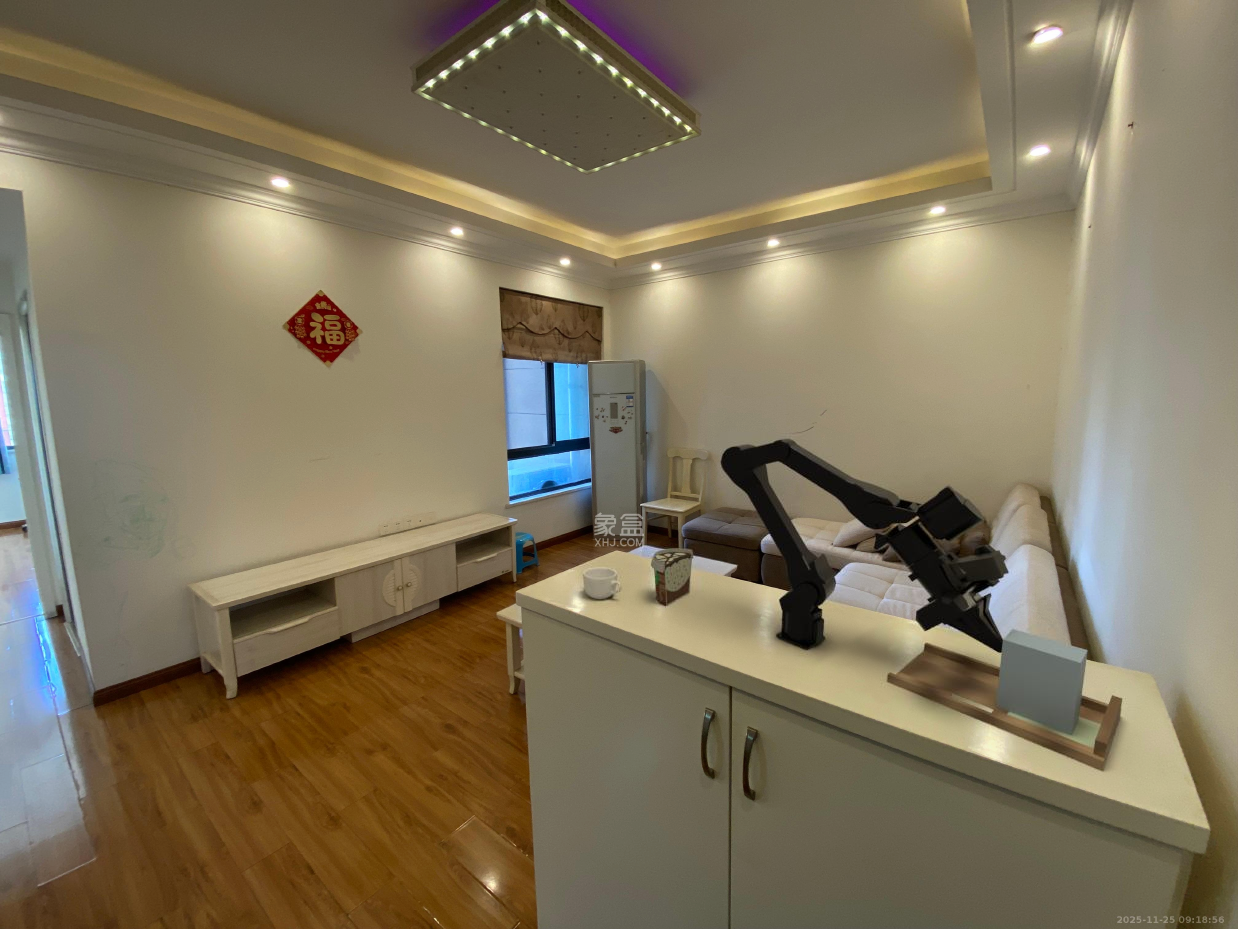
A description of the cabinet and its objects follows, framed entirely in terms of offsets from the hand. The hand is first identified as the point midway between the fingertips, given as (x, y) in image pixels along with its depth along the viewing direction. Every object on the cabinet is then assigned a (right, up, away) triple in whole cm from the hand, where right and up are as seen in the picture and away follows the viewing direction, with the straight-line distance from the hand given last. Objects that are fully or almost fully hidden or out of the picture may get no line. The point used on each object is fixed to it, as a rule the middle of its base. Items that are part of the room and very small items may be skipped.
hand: (1003, 651), depth 71 cm
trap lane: (0, -8, +1) cm, 8 cm away
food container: (-44, -3, +41) cm, 60 cm away
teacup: (-59, -3, +41) cm, 71 cm away
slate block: (+3, -8, -2) cm, 8 cm away
